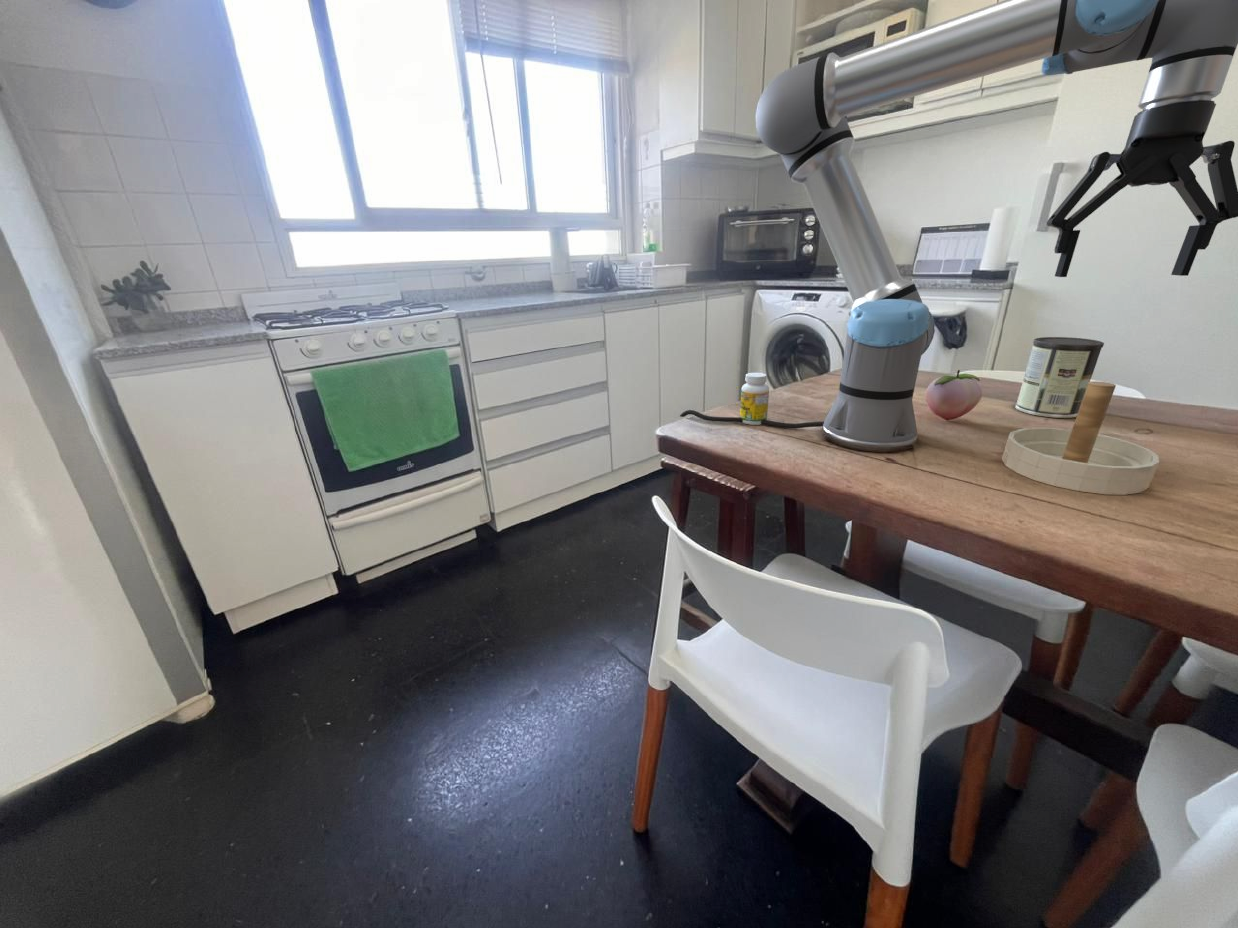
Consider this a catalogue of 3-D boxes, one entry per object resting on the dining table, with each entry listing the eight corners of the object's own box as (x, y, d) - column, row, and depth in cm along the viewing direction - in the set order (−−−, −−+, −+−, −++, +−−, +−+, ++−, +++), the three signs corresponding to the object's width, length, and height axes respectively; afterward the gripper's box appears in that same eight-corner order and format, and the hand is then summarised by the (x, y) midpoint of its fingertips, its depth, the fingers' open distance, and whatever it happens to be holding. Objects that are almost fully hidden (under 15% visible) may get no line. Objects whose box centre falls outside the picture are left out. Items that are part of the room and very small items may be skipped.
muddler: (1055, 474, 71) (1085, 386, 66) (1044, 461, 76) (1072, 378, 70) (1099, 479, 69) (1134, 389, 64) (1086, 466, 74) (1118, 380, 68)
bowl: (1015, 487, 69) (1024, 458, 67) (991, 448, 83) (998, 423, 81) (1171, 507, 63) (1186, 475, 61) (1117, 461, 76) (1128, 434, 74)
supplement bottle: (771, 423, 98) (776, 376, 95) (747, 426, 97) (750, 378, 93) (758, 416, 103) (761, 370, 99) (734, 419, 102) (737, 373, 98)
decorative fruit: (944, 411, 102) (956, 363, 98) (982, 423, 95) (996, 371, 91) (909, 417, 99) (919, 368, 95) (945, 429, 92) (958, 376, 88)
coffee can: (1051, 403, 105) (1072, 335, 99) (1093, 417, 95) (1120, 344, 90) (1002, 404, 105) (1021, 337, 100) (1039, 419, 96) (1062, 345, 90)
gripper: (1290, 98, 64) (1218, 273, 72) (1049, 124, 73) (1009, 276, 82) (1337, 81, 57) (1252, 275, 66) (1066, 113, 67) (1021, 278, 75)
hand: (1117, 276), depth 74 cm, fingers open, 13 cm apart
